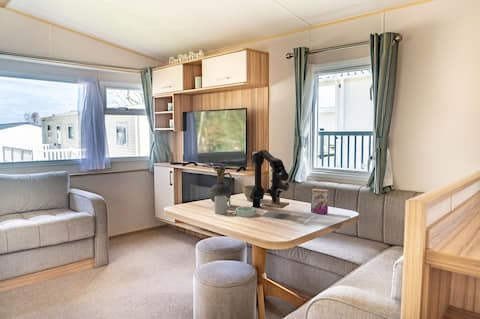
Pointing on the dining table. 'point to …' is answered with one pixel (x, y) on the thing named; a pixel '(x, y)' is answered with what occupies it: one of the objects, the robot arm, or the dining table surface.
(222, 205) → the mug
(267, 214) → the rubber mat
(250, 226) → the dining table surface
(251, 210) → the sage dish
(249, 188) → the planter bowl
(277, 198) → the walnut lid
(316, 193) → the candy bar box
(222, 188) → the pitcher
